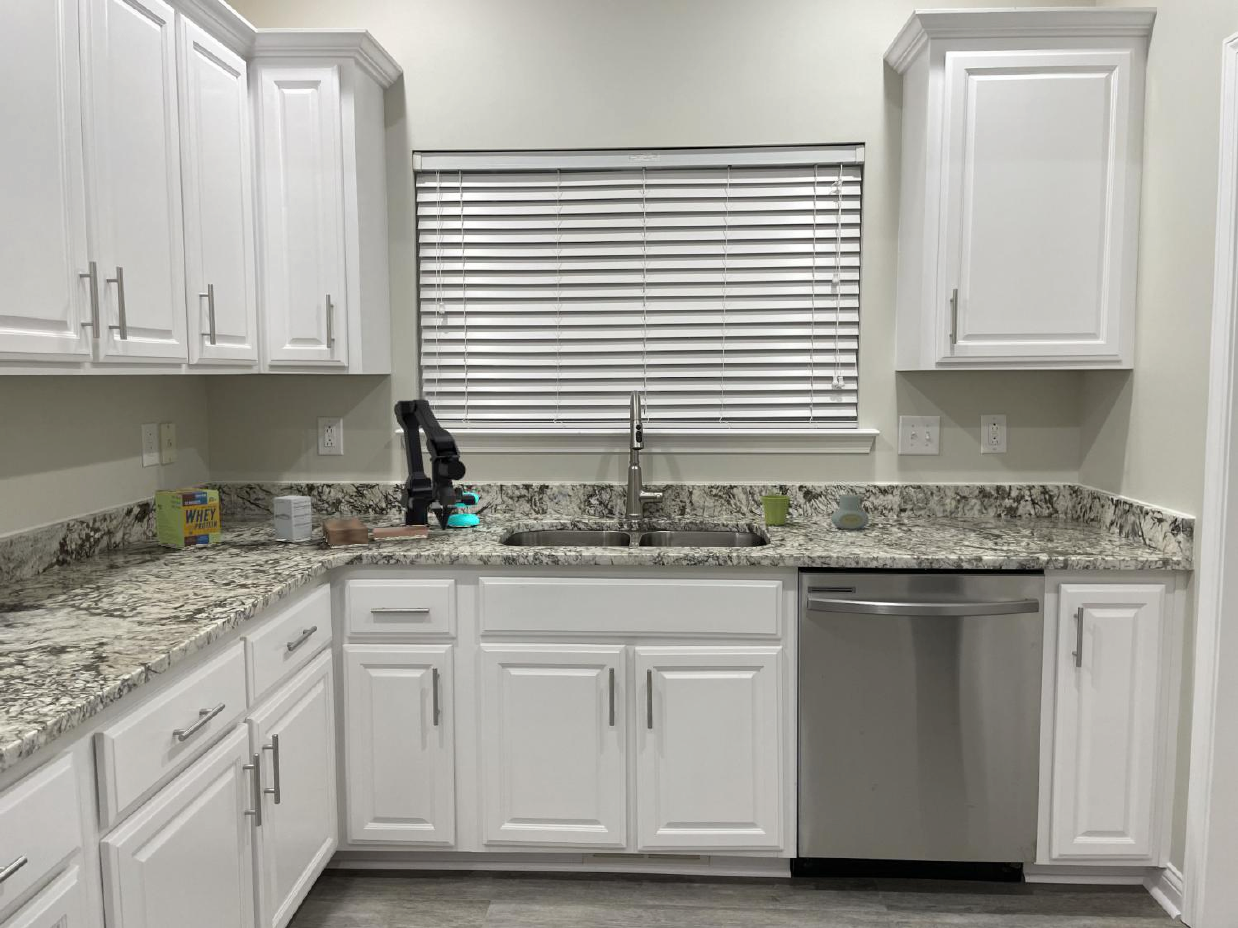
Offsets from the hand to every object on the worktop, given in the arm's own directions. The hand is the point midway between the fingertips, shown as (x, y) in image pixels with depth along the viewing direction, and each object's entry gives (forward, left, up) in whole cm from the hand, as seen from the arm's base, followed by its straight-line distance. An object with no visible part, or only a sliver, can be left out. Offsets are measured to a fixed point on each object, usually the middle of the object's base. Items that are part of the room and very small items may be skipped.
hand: (443, 530), depth 263 cm
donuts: (-9, -13, -2) cm, 16 cm away
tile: (+12, 0, -2) cm, 13 cm away
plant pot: (-97, +28, -1) cm, 101 cm away
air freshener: (-112, +45, -2) cm, 121 cm away
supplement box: (+41, -9, -1) cm, 42 cm away
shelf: (+28, 0, -1) cm, 28 cm away
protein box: (+68, -14, -2) cm, 69 cm away
